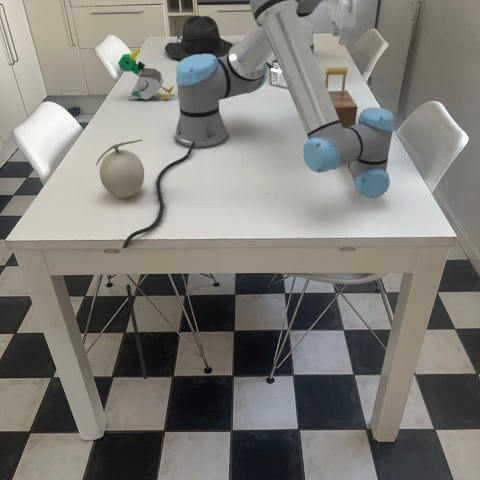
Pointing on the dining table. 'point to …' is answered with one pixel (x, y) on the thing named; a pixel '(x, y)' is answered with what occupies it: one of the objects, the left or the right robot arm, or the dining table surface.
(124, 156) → the fruit
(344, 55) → the dining table surface
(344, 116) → the chest
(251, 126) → the dining table surface
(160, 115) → the dining table surface
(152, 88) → the toy
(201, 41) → the hat
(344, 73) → the lid
